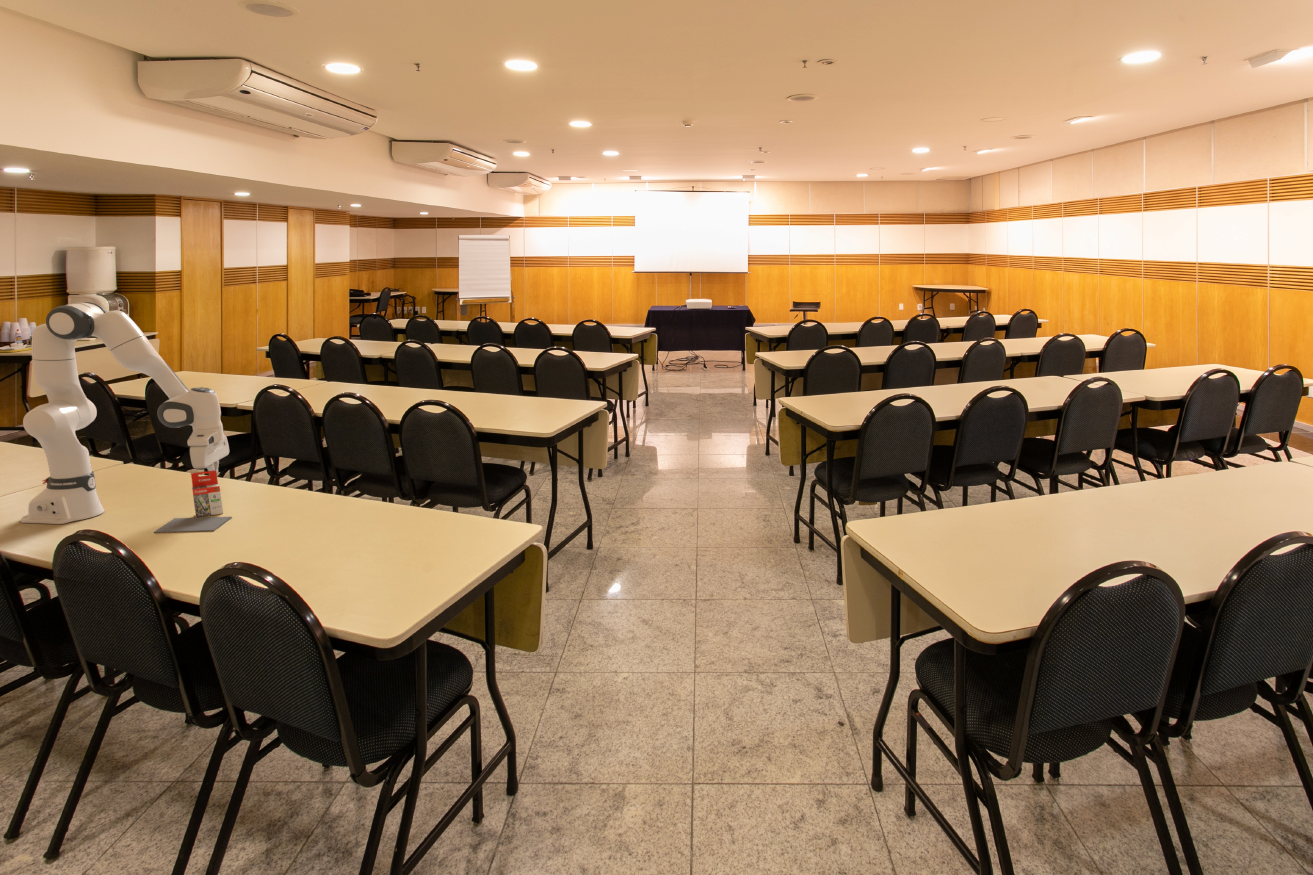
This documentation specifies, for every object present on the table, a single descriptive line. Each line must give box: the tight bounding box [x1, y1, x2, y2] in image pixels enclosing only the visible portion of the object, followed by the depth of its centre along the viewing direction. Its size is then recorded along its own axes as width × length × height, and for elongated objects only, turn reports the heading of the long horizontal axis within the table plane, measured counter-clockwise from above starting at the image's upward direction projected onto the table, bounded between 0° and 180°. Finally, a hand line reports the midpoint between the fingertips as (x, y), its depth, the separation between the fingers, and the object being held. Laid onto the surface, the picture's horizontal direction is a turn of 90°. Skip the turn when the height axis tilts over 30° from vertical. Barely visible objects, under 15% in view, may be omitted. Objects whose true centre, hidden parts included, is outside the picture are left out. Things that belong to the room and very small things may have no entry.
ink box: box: [190, 470, 224, 518], centre depth 256 cm, size 4×8×15 cm, turn 124°
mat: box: [153, 516, 233, 534], centre depth 247 cm, size 18×13×1 cm
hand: (213, 474), depth 262 cm, fingers closed
